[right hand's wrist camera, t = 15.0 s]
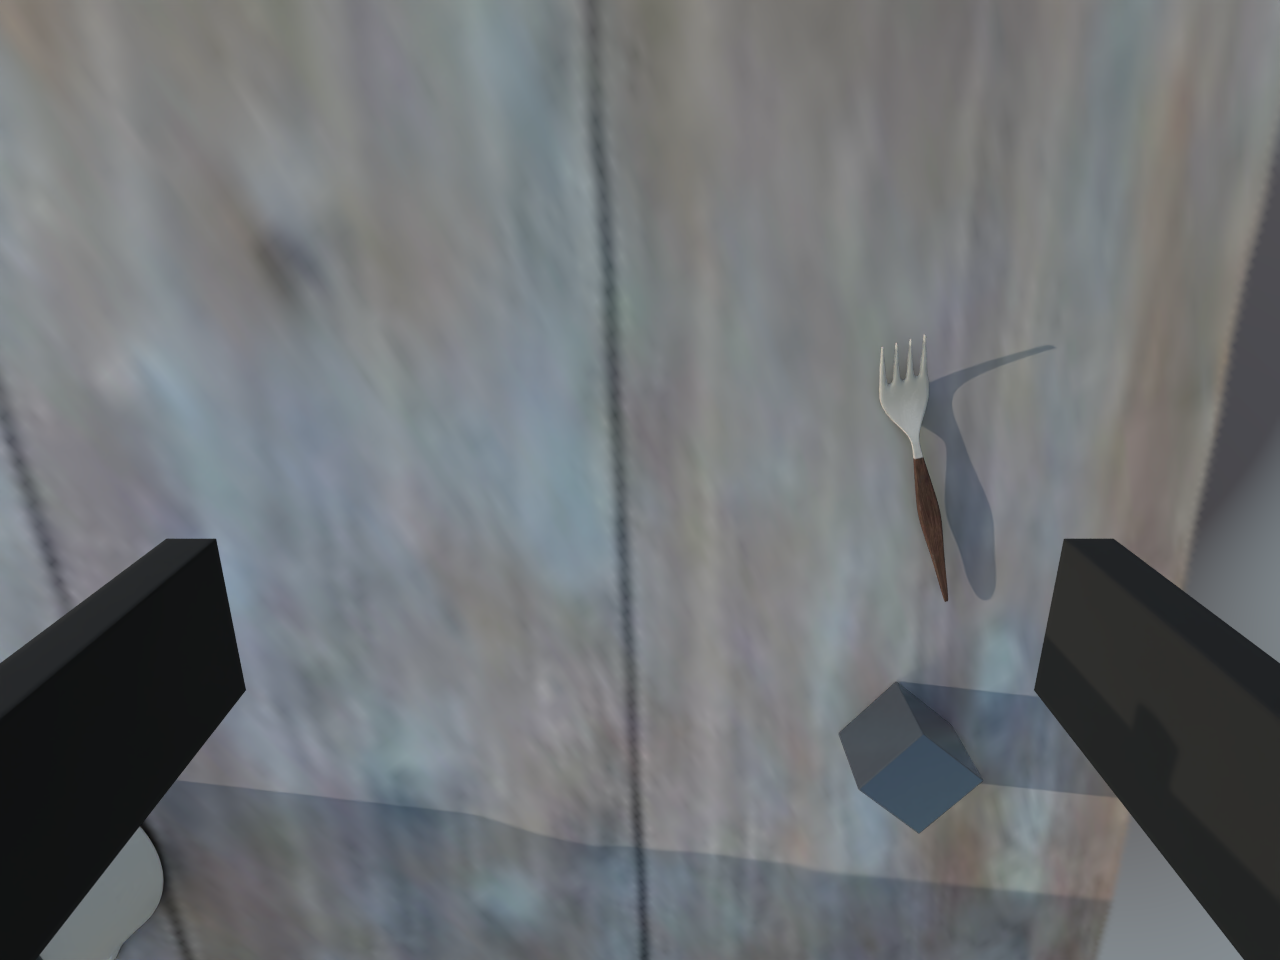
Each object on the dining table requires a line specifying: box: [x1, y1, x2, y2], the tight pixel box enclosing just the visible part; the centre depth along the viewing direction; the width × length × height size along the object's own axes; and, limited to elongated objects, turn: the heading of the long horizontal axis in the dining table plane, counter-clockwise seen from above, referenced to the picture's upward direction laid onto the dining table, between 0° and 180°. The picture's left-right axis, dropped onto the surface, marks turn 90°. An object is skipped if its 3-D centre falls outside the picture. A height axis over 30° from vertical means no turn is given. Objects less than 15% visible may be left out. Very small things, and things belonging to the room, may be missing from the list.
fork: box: [879, 334, 948, 602], centre depth 43 cm, size 3×16×2 cm, turn 17°
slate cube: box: [839, 682, 983, 833], centre depth 48 cm, size 5×5×5 cm
